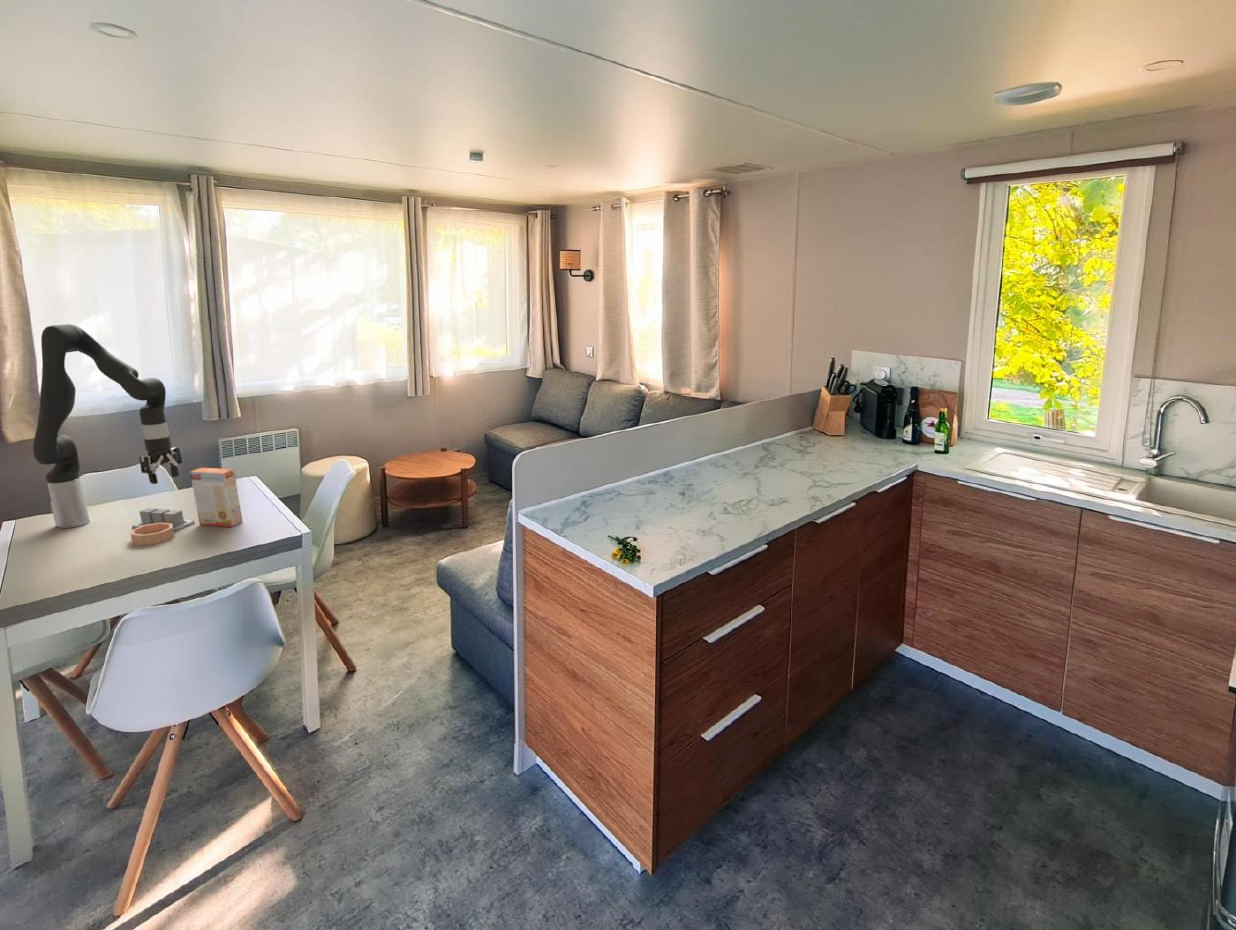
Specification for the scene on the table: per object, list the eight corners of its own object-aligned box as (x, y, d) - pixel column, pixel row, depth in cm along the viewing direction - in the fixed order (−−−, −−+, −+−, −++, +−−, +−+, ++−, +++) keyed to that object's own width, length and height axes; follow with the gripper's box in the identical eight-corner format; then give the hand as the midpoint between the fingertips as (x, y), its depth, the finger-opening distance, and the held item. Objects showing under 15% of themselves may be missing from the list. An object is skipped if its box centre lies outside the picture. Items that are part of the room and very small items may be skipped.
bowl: (124, 543, 225) (122, 533, 224) (154, 530, 237) (152, 521, 236) (153, 546, 223) (151, 536, 222) (182, 533, 234) (180, 524, 233)
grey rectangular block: (166, 527, 239) (163, 513, 237) (175, 523, 242) (172, 509, 241) (175, 528, 238) (172, 514, 236) (184, 524, 242) (181, 510, 240)
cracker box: (243, 522, 245) (235, 468, 239) (231, 528, 239) (222, 473, 234) (211, 519, 248) (202, 466, 242) (198, 525, 242) (189, 471, 236)
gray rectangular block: (154, 526, 240) (151, 512, 238) (163, 522, 243) (160, 508, 242) (163, 527, 239) (160, 513, 237) (172, 523, 243) (169, 509, 241)
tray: (132, 528, 239) (131, 525, 238) (153, 519, 247) (153, 517, 247) (173, 532, 235) (173, 529, 235) (194, 523, 244) (193, 520, 243)
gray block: (142, 525, 241) (139, 511, 239) (151, 521, 244) (149, 507, 243) (151, 526, 240) (148, 512, 238) (160, 522, 244) (158, 508, 242)
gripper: (165, 430, 236) (173, 473, 240) (128, 439, 223) (138, 485, 227) (182, 431, 234) (190, 475, 239) (147, 441, 221) (156, 486, 225)
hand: (165, 480), depth 233 cm, fingers open, 8 cm apart
